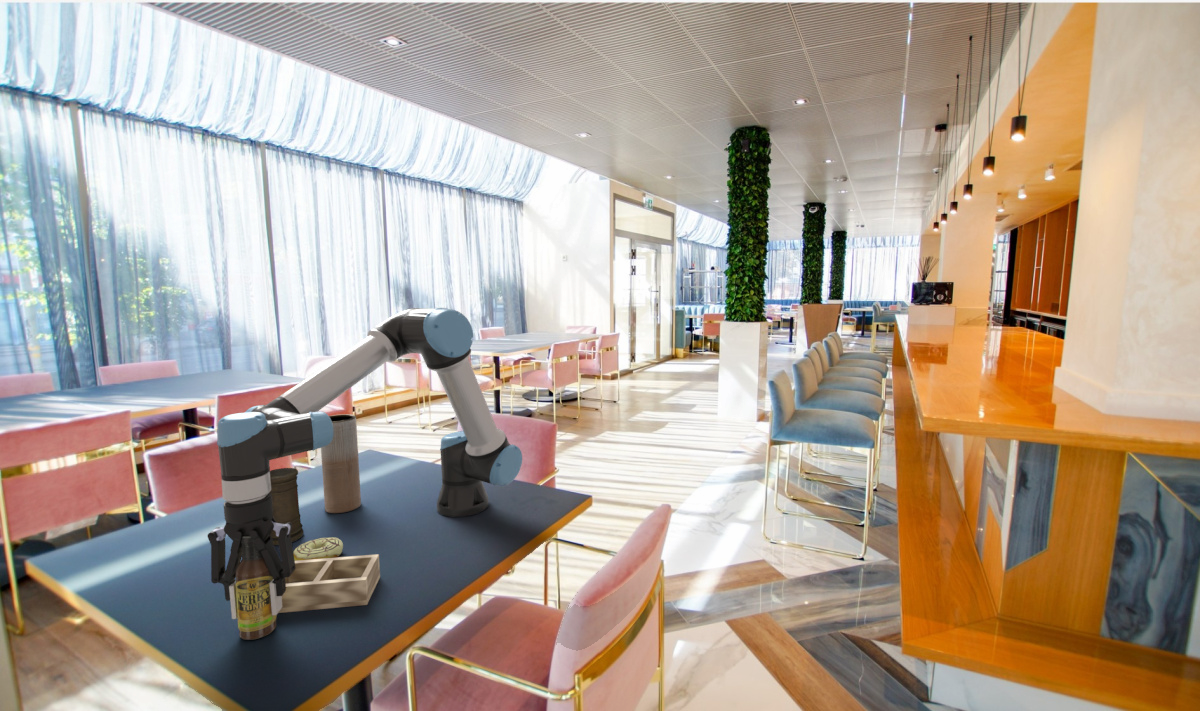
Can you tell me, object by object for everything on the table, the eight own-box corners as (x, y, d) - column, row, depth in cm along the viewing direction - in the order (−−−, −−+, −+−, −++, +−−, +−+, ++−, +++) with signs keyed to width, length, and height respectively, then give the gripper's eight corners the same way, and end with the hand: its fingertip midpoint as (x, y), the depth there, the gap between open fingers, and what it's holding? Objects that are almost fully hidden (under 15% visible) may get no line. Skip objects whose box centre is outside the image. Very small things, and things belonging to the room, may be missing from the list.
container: (286, 547, 135) (280, 479, 133) (256, 544, 137) (250, 477, 135) (311, 531, 144) (307, 468, 142) (283, 529, 146) (278, 465, 144)
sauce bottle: (235, 646, 97) (225, 543, 95) (242, 627, 103) (233, 529, 101) (276, 636, 100) (267, 536, 97) (281, 618, 105) (272, 523, 103)
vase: (364, 508, 159) (358, 418, 156) (327, 516, 154) (321, 423, 151) (357, 498, 168) (352, 412, 164) (322, 505, 162) (316, 416, 159)
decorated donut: (350, 557, 130) (349, 543, 130) (303, 574, 123) (302, 559, 122) (333, 544, 137) (332, 530, 137) (288, 559, 130) (287, 544, 129)
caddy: (380, 577, 121) (378, 554, 120) (367, 604, 110) (365, 579, 109) (285, 585, 118) (283, 561, 117) (262, 614, 107) (260, 588, 106)
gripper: (310, 486, 103) (318, 597, 106) (202, 492, 100) (213, 606, 103) (295, 500, 96) (304, 619, 99) (177, 508, 93) (190, 630, 96)
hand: (257, 612), depth 101 cm, fingers closed on sauce bottle, 6 cm apart
